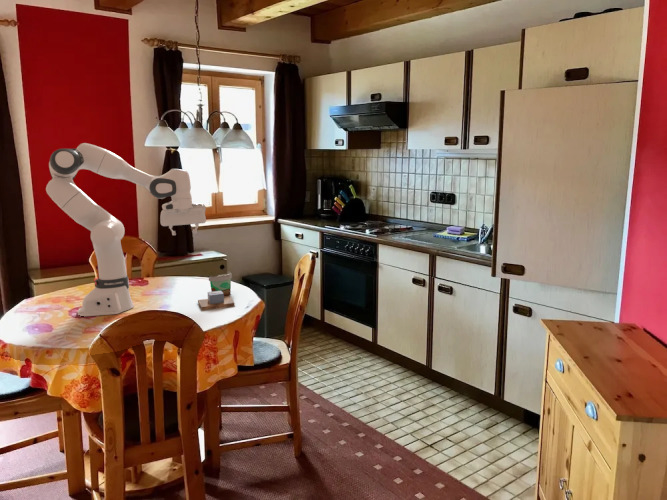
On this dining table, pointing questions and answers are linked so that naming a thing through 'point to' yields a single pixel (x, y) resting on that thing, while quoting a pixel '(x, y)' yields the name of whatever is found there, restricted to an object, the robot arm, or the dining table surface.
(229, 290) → the food container
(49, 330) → the dining table surface
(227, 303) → the board
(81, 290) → the dining table surface
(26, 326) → the dining table surface
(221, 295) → the grey drawer unit
